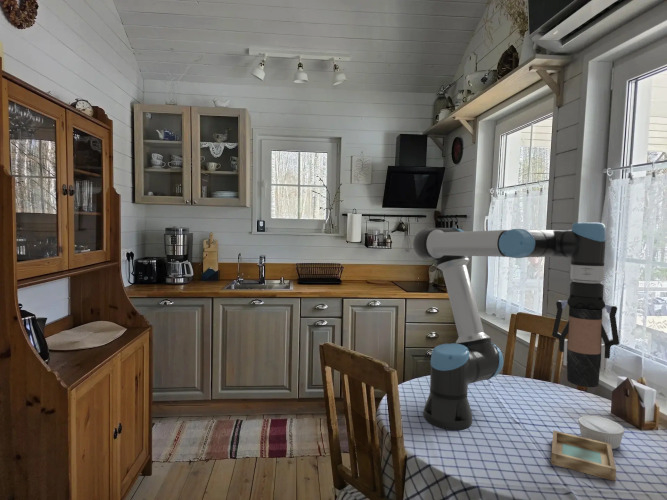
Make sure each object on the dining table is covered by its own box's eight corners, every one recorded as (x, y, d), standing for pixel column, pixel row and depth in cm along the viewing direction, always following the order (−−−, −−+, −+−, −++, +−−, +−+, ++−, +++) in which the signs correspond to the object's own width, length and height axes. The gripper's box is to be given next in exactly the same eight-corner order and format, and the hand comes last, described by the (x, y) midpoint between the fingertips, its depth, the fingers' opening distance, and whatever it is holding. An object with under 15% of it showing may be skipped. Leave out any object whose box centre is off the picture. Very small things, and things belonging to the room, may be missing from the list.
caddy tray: (551, 463, 107) (551, 452, 107) (552, 440, 119) (553, 430, 119) (615, 481, 100) (616, 469, 100) (610, 454, 112) (610, 443, 112)
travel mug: (604, 389, 103) (608, 311, 102) (571, 386, 105) (574, 309, 104) (593, 378, 110) (596, 305, 110) (562, 376, 112) (564, 304, 111)
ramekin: (572, 440, 119) (573, 423, 119) (583, 428, 127) (584, 411, 127) (618, 456, 111) (619, 438, 111) (626, 442, 119) (627, 424, 119)
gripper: (541, 279, 109) (538, 363, 110) (636, 285, 98) (632, 378, 99) (544, 277, 115) (541, 356, 116) (633, 282, 104) (629, 370, 105)
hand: (583, 366), depth 108 cm, fingers closed on travel mug, 8 cm apart
